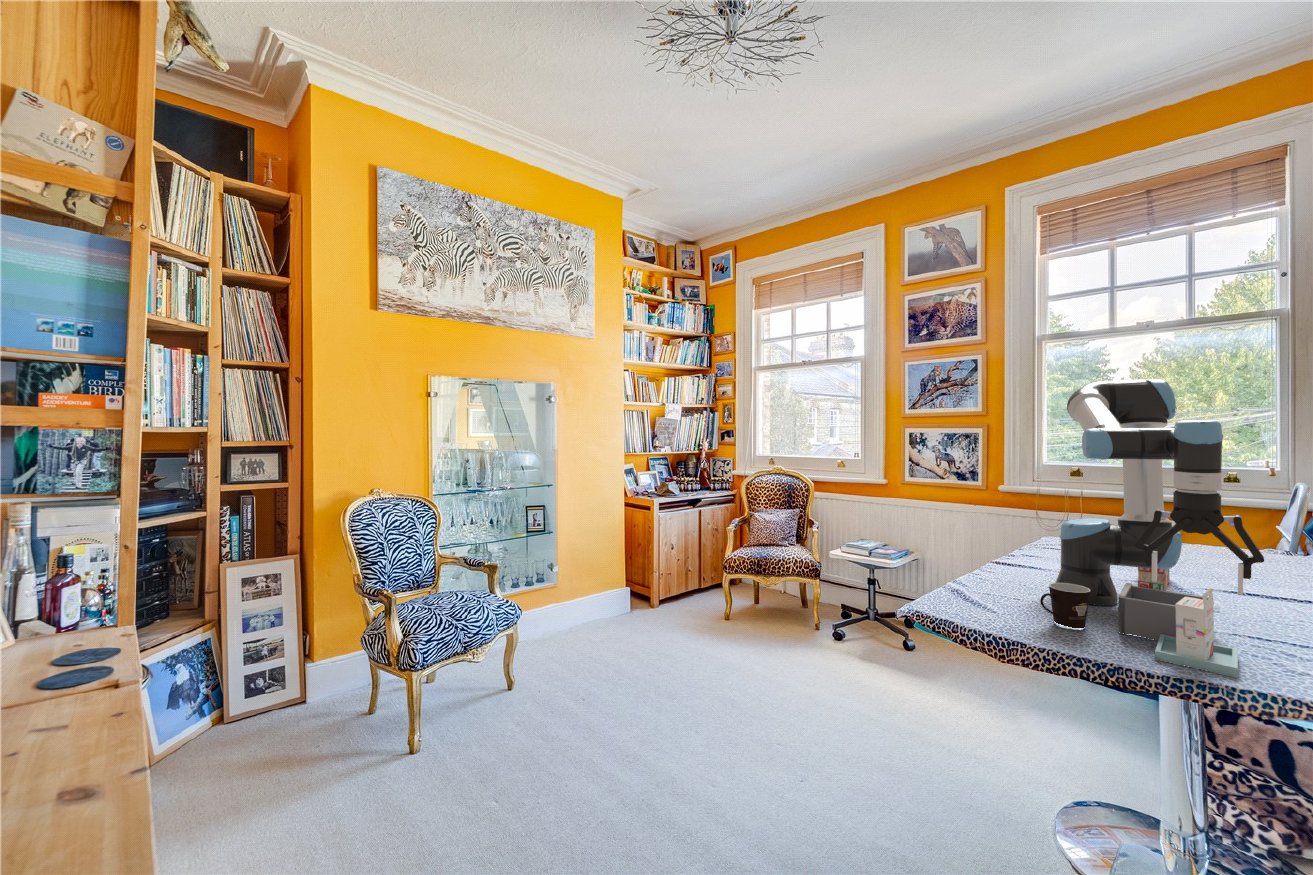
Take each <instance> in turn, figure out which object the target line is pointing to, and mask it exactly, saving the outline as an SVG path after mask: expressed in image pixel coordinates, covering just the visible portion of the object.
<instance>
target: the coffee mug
mask: <svg viewBox="0 0 1313 875" xmlns="http://www.w3.org/2000/svg"><path fill="white" fill-rule="evenodd" d="M1048 588H1049V589H1048V590H1049V592H1048V593H1044V594H1042V596H1040V601H1039V602H1040V606H1041V607H1042V608H1043V609H1044V610H1045V611H1047V612H1048V613H1049V614H1051V615H1052V617H1053V622H1054V621H1055V622H1056V623H1058V624H1061V625H1064V626H1068V627H1072V628H1084V627H1085V628H1086V625H1087V618H1088V612H1089V611H1088V610H1089V606H1090V605H1089V598H1090V591H1091V590H1090V589H1089V588H1087V587H1084V586H1080V585H1075V584H1069V583H1055V582H1052V583H1049V584H1048ZM1048 596H1049V597H1050V602H1051V610H1050V609H1049V608H1047V607H1046V605H1045V604H1044V599H1045V598H1046V597H1048Z"/></svg>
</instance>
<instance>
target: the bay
mask: <svg viewBox="0 0 1313 875" xmlns="http://www.w3.org/2000/svg"><path fill="white" fill-rule="evenodd" d="M1184 597H1191V598H1197V599H1203V597H1202V595H1196V594H1190V593H1183V592H1182V593H1181V592H1176V591H1169V590H1166V591H1164V590H1157V589H1150V588H1144V587H1138V585H1137V586H1136V585H1133V583H1131V582H1126V583H1125V584H1124V586H1123V587H1122V588H1121V590H1120V592H1119V593H1118V603H1117V604H1118V622H1117V623H1118V626H1117V628H1118V632H1120V633H1124V634H1132V635H1137V636H1141V637H1146V638H1149V639H1154V640H1159V638H1160V635H1161V634H1163V635H1168V636H1174V637H1176V607H1175V604H1176V603H1177V602H1179V601H1180V600H1181V599H1183V598H1184ZM1208 599H1209V596H1208V597H1207V600H1208ZM1124 634H1123V635H1124ZM1149 639H1148V640H1149ZM1154 640H1153V641H1154Z"/></svg>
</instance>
